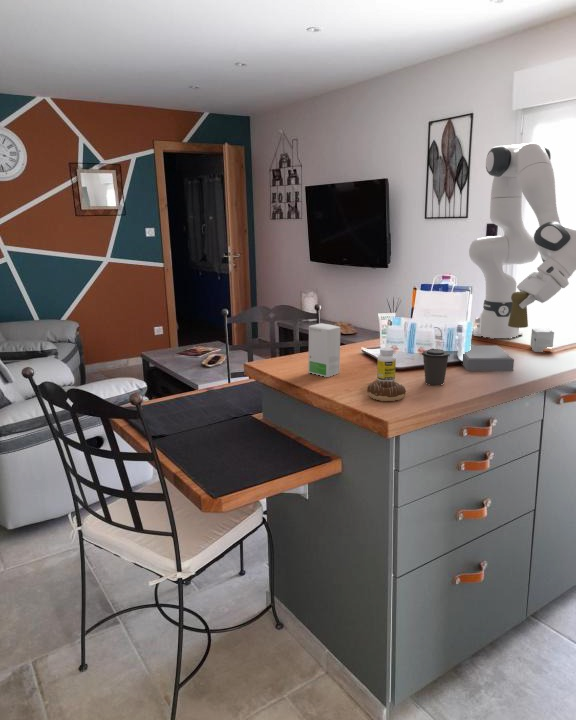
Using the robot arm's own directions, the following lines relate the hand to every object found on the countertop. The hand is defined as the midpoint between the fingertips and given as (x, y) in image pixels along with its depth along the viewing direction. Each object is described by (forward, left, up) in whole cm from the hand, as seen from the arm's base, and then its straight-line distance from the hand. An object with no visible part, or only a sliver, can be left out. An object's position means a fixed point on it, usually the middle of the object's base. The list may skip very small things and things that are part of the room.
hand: (517, 305), depth 180 cm
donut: (+36, -44, -20) cm, 60 cm away
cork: (0, +1, -7) cm, 7 cm away
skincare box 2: (-17, +15, -19) cm, 30 cm away
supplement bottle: (+20, -43, -19) cm, 51 cm away
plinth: (+1, -9, -19) cm, 21 cm away
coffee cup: (+23, -28, -19) cm, 41 cm away
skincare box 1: (+13, -62, -19) cm, 66 cm away
